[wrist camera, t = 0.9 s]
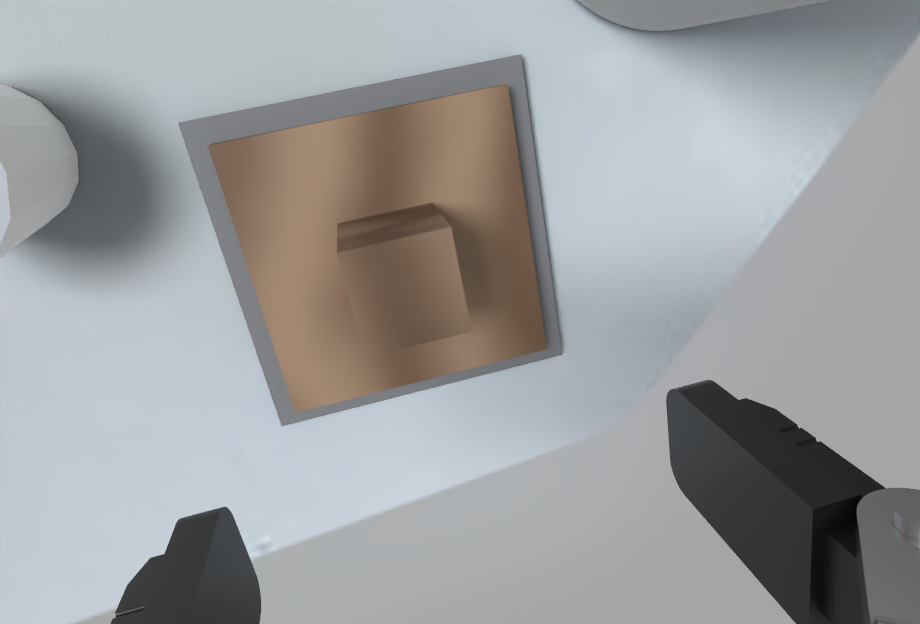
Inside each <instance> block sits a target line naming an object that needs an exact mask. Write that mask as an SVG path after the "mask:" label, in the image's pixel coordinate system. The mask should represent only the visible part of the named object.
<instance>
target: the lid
mask: <svg viewBox="0 0 920 624" xmlns="http://www.w3.org/2000/svg"><path fill="white" fill-rule="evenodd" d="M208 149H209V152H210V155H211V158H212V161H213V164H214V167H215V170H216V173H217V176H218V179H219V182H220V185H221V188H222V191H223V194H224V197H225V200H226V203H227V206H228V210H229V213H230V216H231V219H232V222H233V225H234V228H235V231H236V234H237V237H238V240H239V243H240V246H241V249H242V252H243V255H244V258H245V261H246V264H247V267H248V270H249V273H250V276H251V279H252V282H253V286H254V289H255V292H256V295H257V298H258V301H259V304H260V307H261V310H262V313H263V316H264V319H265V322H266V325H267V328H268V331H269V334H270V337H271V340H272V343H273V346H274V349H275V352H276V355H277V359H278V362H279V365H280V368H281V371H282V374H283V377H284V380H285V383H286V386H287V389H288V392H289V395H290V398H291V401H292V404H293V407H294V410H295V413H298V412H302V411H306V410H310V409H314V408H318V407H322V406H326V405H329V404H333V403H337V402H341V401H345V400H349V399H353V398H357V397H361V396H365V395H369V394H373V393H377V392H381V391H385V390H389V389H393V388H396V387H400V386H404V385H408V384H412V383H416V382H420V381H424V380H428V379H432V378H436V377H440V376H444V375H448V374H452V373H456V372H460V371H464V370H467V369H471V368H475V367H479V366H483V365H487V364H491V363H495V362H499V361H503V360H507V359H511V358H515V357H519V356H523V355H527V354H531V353H535V352H538V351H542V350H546V349H547V347H546V340H545V333H544V327H543V320H542V313H541V306H540V299H539V293H538V286H537V279H536V272H535V265H534V259H533V252H532V245H531V238H530V231H529V225H528V218H527V211H526V204H525V197H524V191H523V184H522V177H521V170H520V163H519V157H518V150H517V143H516V136H515V129H514V123H513V116H512V109H511V102H510V95H509V89H508V84H502V85H497V86H492V87H487V88H482V89H477V90H472V91H468V92H463V93H458V94H453V95H448V96H443V97H438V98H433V99H428V100H423V101H419V102H414V103H409V104H404V105H399V106H394V107H389V108H384V109H379V110H375V111H370V112H365V113H360V114H355V115H350V116H345V117H340V118H335V119H331V120H326V121H321V122H316V123H311V124H306V125H301V126H296V127H291V128H286V129H282V130H277V131H272V132H267V133H262V134H257V135H252V136H247V137H242V138H238V139H233V140H228V141H223V142H218V143H213V144H210V145H208Z"/></svg>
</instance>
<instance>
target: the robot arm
mask: <svg viewBox="0 0 920 624" xmlns="http://www.w3.org/2000/svg"><path fill="white" fill-rule="evenodd" d="M666 403H667V418H668V433H669V446H670V447H669V448H670V460H671V466H672V471H673V474H674V476H675V479H676V481H677V483H678V485H679V487H680V489H681V491H682V492H683V493H684V495H685V496H686V497H687V498H688V499H689V501H690V502H691V503H692V504H693V505H694V506H695V508H696V509H697V510H698V511H699V512H700V513H701V514H702V516H703V517H704V518H705V519H706V520H707V521H708V523H709V524H710V525H711V526H712V527H713V528H714V529H715V530H716V532H717V533H718V534H719V535H720V536H721V538H722V539H723V540H724V541H725V542H726V543H727V544H728V546H729V547H730V548H731V549H732V550H733V551H734V552H735V554H736V555H737V556H738V557H739V558H740V559H741V561H742V562H743V563H744V564H745V565H746V566H747V568H749V570H750V571H751V572H752V573H753V574H754V576H755V577H756V578H757V579H758V580H759V581H760V583H761V584H762V585H763V586H764V587H765V588H766V589H767V591H768V592H769V593H770V594H771V595H772V596H773V597H774V599H775V600H776V601H777V602H778V603H779V604H780V606H781V607H782V608H783V609H784V610H785V611H786V613H787V614H788V615H789V616H790V617H791V618H792V619H793V621H794V622H795V623H796V624H920V490H916V489H909V488H908V489H907V488H888V489H886V488H884V487H883V486H882V485H880V484H879V483H878V482H876V481H875V480H873V479H872V478H871V477H869V476H868V475H866V474H865V473H864V472H862V471H861V470H859V469H858V468H857V467H855V466H854V465H853V464H851V463H850V462H848V461H847V460H846V459H844V458H843V457H841V456H840V455H839V454H837V453H836V452H834V451H833V450H832V449H830V448H829V447H827V446H826V445H824V444H823V443H822V442H817V441H816V438H815V437H813V436H812V435H811V434H809V433H808V432H806V431H805V430H804V429H802V428H800V429H799V428H798V426H797V424H795V423H794V422H793V421H791V420H790V419H788V418H787V417H786V416H784V415H783V414H781V413H780V412H779V411H777V410H776V409H774V408H771V407H768V406H766V405H763V404H760V403H757V402H755V401H752V400H749V399H747V398H745V399H741V400H738V399H736V398H735V397H734V396H732V395H731V394H730V393H728V392H727V391H726V390H724V389H723V388H722V387H720V386H719V385H718V384H717V383H715V382H714V381H711V380H706V381H702V382H698V383H695V384H691V385H687V386H683V387H679V388H675V389H672V390H670V391H669V392H668V394H667V400H666ZM115 614H116V618H114V619H113V620H112V622H111V624H259V622H260V614H261V597H260V589H259V583H258V579H257V576H256V573H255V570H254V568H253V565H252V563H251V560H250V558H249V555H248V553H247V550H246V547H245V545H244V542H243V540H242V537H241V535H240V532H239V530H238V527H237V525H236V522H235V519H234V517H233V515H232V513H231V511H230V510H229V509H228V508H227V507H222V508H218V509H214V510H211V511H207V512H203V513H199V514H195V515H192V516H188V517H184V518H181V519H179V520H178V521H177V523H176V525H175V528H174V531H173V533H172V536H171V539H170V541H169V544H168V546H167V549H166V552H165V554H163V555H160V556H156V557H152V558H150V559H149V560H148V562H147V563H146V564H145V565H144V566H143V567H142V569H141V570H140V571H139V572H138V573H137V574H136V576H135V577H134V578H133V579H132V580H131V581H130V583H129V584H128V585H127V587H126V589H125V592H124V594H123V596H122V599H121V601H120V603H119V605H118V608H117V610H116V612H115Z"/></svg>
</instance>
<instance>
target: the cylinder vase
mask: <svg viewBox="0 0 920 624" xmlns="http://www.w3.org/2000/svg"><path fill="white" fill-rule="evenodd" d="M578 1H579V2H580V3H581V4H583V5H584V6H585V7H587V8H588V9H589V10H591V11H592V12H594V13H596V14H597V15H599V16H601V17H603V18H605V19H607V20H609V21H611V22H614V23H616V24H619V25H622V26H626V27H629V28H634V29H639V30H646V31H670V30H678V29H683V28H689V27H694V26H699V25H705V24H710V23H715V22H721V21H726V20H732V19H737V18H742V17H748V16H753V15H758V14H764V13H769V12H774V11H780V10H785V9H790V8H796V7H801V6H806V5H812V4H817V3H822V2H828V1H833V0H578Z"/></svg>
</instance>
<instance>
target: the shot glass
mask: <svg viewBox="0 0 920 624" xmlns="http://www.w3.org/2000/svg"><path fill="white" fill-rule="evenodd" d="M78 182H79V173H78V156H77V151H76V149H75V147H74V145H73V143H72V141H71V139H70V137H69V135H68V133H67V131H66V129H65V127H64V125H63V124H62V123H61V122H60V121H59V120H58V119H57V118H56V117H55V116H54V115H53V114H52V113H51V112H50V111H49V110H48V109H47V108H46V107H45V106H44V105H43V104H42V103H41V102H40V101H38V100H36V99H34V98H32V97H30V96H28V95H26V94H24V93H22V92H20V91H18V90H16V89H14V88H12V87H10V86H8V85H3V84H0V257H1V256H3V255H4V254H6V253H7V252H8V251H10V250H11V249H12V248H14V247H15V246H17V245H18V244H19V243H21V242H22V241H24V240H25V239H26V238H28V237H29V236H30V235H32V234H33V233H35V232H36V231H37V230H39V229H40V228H42V227H43V226H44V225H46V224H47V223H49V222H50V221H51V220H52V219H53V218H54V217H56V216H57V215H58V214H59V213H60V212H62V211H63V210H64V209H65V208H66V207H67V206H69V204H70V201H71V199H72V197H73V194H74V192H75V189H76V187H77V185H78Z"/></svg>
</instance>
